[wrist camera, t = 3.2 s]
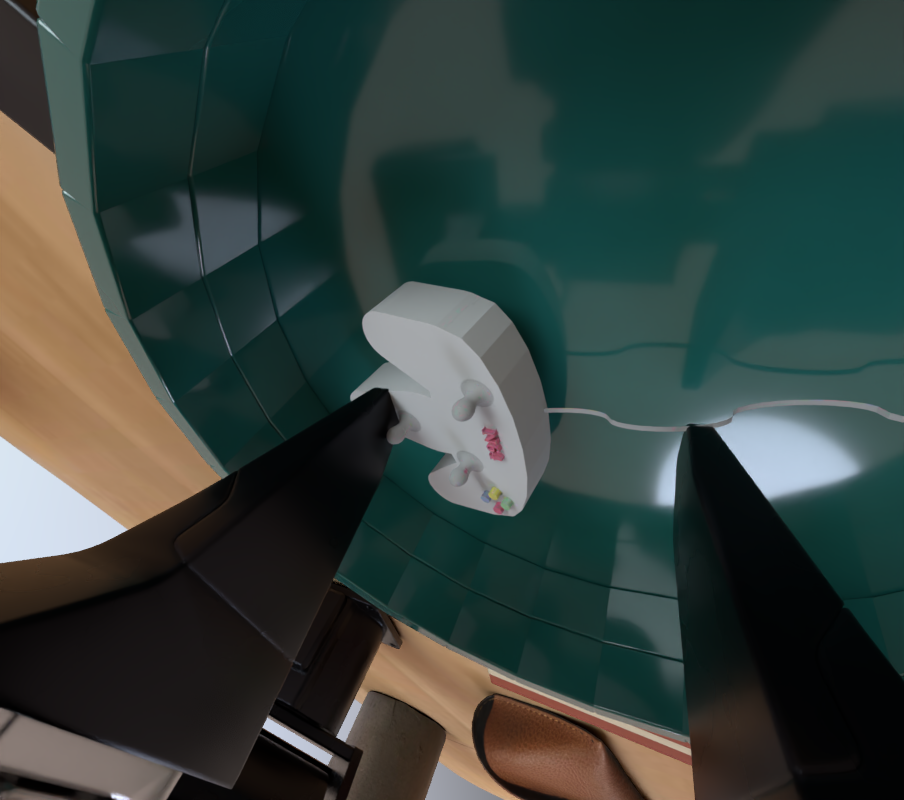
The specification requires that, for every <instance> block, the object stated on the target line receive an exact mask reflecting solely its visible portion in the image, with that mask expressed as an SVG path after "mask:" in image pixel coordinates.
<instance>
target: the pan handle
mask: <svg viewBox="0 0 904 800" xmlns="http://www.w3.org/2000/svg"><path fill="white" fill-rule="evenodd" d="M36 4H37V0H0V111H2V112H3V113H4V114H5V115H7V116H8V117H9V118H10V119H12V120H13V121H14V122H15V123H17V124H18V125H19V126H20V127H22V128H23V129H24V130H25V131H27V132H28V133H29V134H30V135H32V136H33V137H34V138H35V139H37V140H38V141H39V142H40V143H42V144H43V145H44V146H45V147H47V148H48V149H49V150H50V151H52V152H53V153H54V154H55V149H54V142H53V135H52V128H51V121H50V114H49V107H48V100H47V93H46V86H45V79H44V72H43V65H42V58H41V51H40V44H39V37H38V30H37V23H36V22H37V19H38V18H39V16H38V14H37V11H36Z"/></svg>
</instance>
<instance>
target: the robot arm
mask: <svg viewBox="0 0 904 800" xmlns="http://www.w3.org/2000/svg"><path fill="white" fill-rule="evenodd" d="M398 423H399V419H398V416H397V413H396V410H395V408H394V405H393V402H392V399H391V396H390V393H389V389H388V388H379V387H375V388H373V389H371V390H369V391H367V392H366V393H364V394H362V395H361V396H359V397H357V398H356V399H354V400H352V401H351V402H349V403H348V404H346V405H344V406H343V407H341V408H339V409H338V410H336V411H334V412H333V413H331V414H329V415H328V416H326V417H324V418H323V419H321V420H319V421H318V422H316V423H314V424H313V425H311V426H309V427H308V428H306V429H304V430H303V431H301V432H299V433H298V434H296V435H294V436H293V437H291V438H289V439H288V440H286V441H284V442H283V443H281V444H279V445H278V446H276V447H274V448H273V449H271V450H269V451H268V452H266V453H264V454H263V455H261V456H259V457H258V458H256V459H255V460H253V461H251V462H250V463H248V464H246V465H245V466H243V467H241V468H240V469H239V470H238V471H234V472H233V473H231V474H230V475H228V476H226V477H225V478H223V479H221V480H220V481H218V482H216V483H214V484H213V485H211V486H209V487H208V488H206V489H204V490H202V491H201V492H199V493H197V494H195V495H194V496H192V497H190V498H188V499H186V500H184V501H182V502H181V503H179V504H177V505H175V506H173V507H171V508H169V509H167V510H165V511H164V512H162V513H160V514H158V515H156V516H154V517H152V518H150V519H148V520H146V521H144V522H143V523H141V524H139V525H137V526H135V527H133V528H131V529H129V530H127V531H125V532H123V533H121V534H120V535H118V536H116V537H114V538H112V539H110V540H108V541H106V542H104V543H101V544H99V545H96V546H94V547H91V548H88V549H85V550H82V551H79V552H74V553H69V554H64V555H58V556H51V557H43V558H36V559H29V560H22V561H14V562H7V563H0V800H347V797H348V794H349V791H350V788H351V786H352V783H353V780H354V777H355V774H356V772H357V769H358V766H359V763H360V760H361V758H362V755H363V750H361V749H360V748H358V747H356V746H354V745H349V744H347V743H345V742H343V741H341V740H340V739H338V738H336V736H337V734H338V732H339V730H340V728H341V726H342V724H343V722H344V719H345V717H346V715H347V713H348V711H349V709H350V707H351V705H352V703H353V701H354V699H355V696H356V694H357V692H358V690H359V688H360V686H361V684H362V682H363V680H364V678H365V676H366V673H367V671H368V669H369V667H370V665H371V663H372V661H373V659H374V657H375V655H376V653H377V650H378V648H379V646H380V644H381V642H382V643H384V644H387V645H389V646H391V647H394V648H396V649H400V647H401V645H402V643H403V642H402V640H401V638H400V637H399V635H398V633H397V631H396V629H395V628H394V626H393V624H392V622H391V621H390V619H389V617H388V615H387V614H386V613H385V612H383V611H382V610H381V609H379V608H377V607H376V606H374V605H373V604H371V603H370V602H368V601H367V600H366V599H364V598H363V597H361V596H360V595H358V594H357V593H355V592H354V591H352V590H350V589H347V588H344V587H342V586H339V585H336V584H334V583H332V581H333V579H334V577H335V575H336V573H337V571H338V568H339V566H340V564H341V562H342V560H343V558H344V556H345V554H346V552H347V550H348V548H349V546H350V543H351V541H352V539H353V537H354V535H355V533H356V531H357V529H358V527H359V525H360V523H361V521H362V519H363V516H364V514H365V512H366V510H367V508H368V506H369V504H370V502H371V500H372V498H373V496H374V494H375V491H376V489H377V487H378V485H379V483H380V481H381V478H382V475H383V473H384V470H385V467H386V464H387V462H388V459H389V456H390V453H391V450H392V447H393V444H391V443H389V442H388V440H387V432H388V431H389V429H390V428H392V427H394V426H396V425H397V424H398ZM696 425H701V424H692V423H690V424H687V425H686V426H689V427H688V428H687V429H686V431H684V433H683V437H682V441H681V445H680V448H679V452H678V457H677V465H676V483H675V502H674V521H673V549H674V562H675V573H676V585H677V596H678V608H679V619H680V631H681V642H682V654H683V665H684V677H685V688H686V700H687V712H688V723H689V735H690V746H691V758H692V769H693V781H694V792H695V800H904V680H903V679H902V677H901V676H900V675H899V674H898V672H897V671H896V670H895V668H894V667H893V666H892V665H891V663H890V662H889V661H888V659H887V658H886V657H885V656H884V654H883V653H882V652H881V650H880V649H879V648H878V647H877V645H876V644H875V643H874V641H873V640H872V639H871V638H870V636H869V635H868V634H867V632H866V631H865V630H864V628H863V627H862V626H861V624H860V623H859V622H858V620H857V619H856V618H855V616H854V615H853V613H852V612H851V611H850V609H848V608H845V607H844V608H843V606H844V602H843V600H842V599H841V598H840V596H839V595H838V594H837V592H836V591H835V590H834V588H833V587H832V586H831V584H830V583H829V582H828V580H827V579H826V577H825V576H824V575H823V573H822V572H821V571H820V569H819V568H818V567H817V565H816V564H815V563H814V561H813V560H812V559H811V557H810V556H809V555H808V553H807V552H806V551H805V549H804V548H803V547H802V545H801V544H800V543H799V541H798V540H797V539H796V537H795V536H794V534H793V533H792V532H791V530H790V529H789V528H788V526H787V525H786V524H785V522H784V521H783V520H782V518H781V517H780V516H779V514H778V513H777V512H776V510H775V509H774V508H773V506H772V505H771V504H770V502H769V501H768V500H767V498H766V497H765V496H764V494H763V493H762V491H761V490H760V489H759V487H758V486H757V485H756V483H755V482H754V481H753V479H752V478H751V477H750V475H749V474H748V473H747V471H746V470H745V469H744V467H743V466H742V465H741V463H740V462H739V461H738V459H737V458H736V457H735V455H734V454H733V452H732V451H731V450H730V448H729V447H728V446H727V444H726V443H725V442H724V440H723V439H722V438H721V436H720V435H719V434H718V432H717V431H716V430H715V428H713V427H712V426H696ZM267 717H268V718H269V719H271V720H273V721H274V722H276V723H278V724H279V725H281V726H283V727H284V728H286V729H288V730H290V731H291V732H293V733H295V734H296V735H298V736H300V737H302V738H303V739H305V740H307V741H308V742H310V743H312V744H313V745H315V746H317V747H319V748H321V749H322V750H324V751H325V752H327V753H329V754H330V755H332V756H333V757H332V758H331V760H330V762H329V764H328V766H327V765H325V764H323V763H322V762H320V761H318V760H317V759H315V758H313V757H311V756H310V755H308V754H306V753H304V752H303V751H301V750H299V749H298V748H296V747H294V746H292V745H291V744H289V743H288V742H286V741H284V740H282V739H281V738H279V737H277V736H275V735H274V734H272V733H270V732H269V731H267V730H265V729H264V728H262V727H263V725H264V723H265V721H266V719H267Z"/></svg>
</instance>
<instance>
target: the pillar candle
mask: <svg viewBox="0 0 904 800" xmlns="http://www.w3.org/2000/svg"><path fill="white" fill-rule="evenodd" d="M445 739H446V733H445V731H444V730H443V729H442V728H441V727H440V726H439V725H438V724H437V723H435V722H434V721H432V720H430V719H429V718H428V717H425V716H423V715H422V714H420V713H418V712H417V711H415V710H414V709H412V708H411V707H409V706H408V705H407V704H405V703H403V702H400V701H398V700H395V699H393V698H390V697H388V696H385V695H382V694H379V693H376V692H372V691H371V692H368V694H367V696H366V698H365V700H364V702H363V704H362V707H361V709H360V711H359V714H358V715H357V718H356V720H355V722H354V724H353V727H352V729H351V731H350V733H349V735H348V738H347V740H346V742H345V743H347V744H349V745H354V746H356V747H358V748H360V749H361V750H363V755H362V758H361V760H360V763H359V766H358V769H357V772H356V774H355V777H354V780H353V783H352V786H351V788H350V791H349V794H348V797H347V800H425V798H426V795H427V792H428V789H429V786H430V783H431V781H432V777H433V774H434V771H435V769H436V766H437V763H438V760H439V757H440V754H441V751H442V748H443V745H444V743H445Z"/></svg>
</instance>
